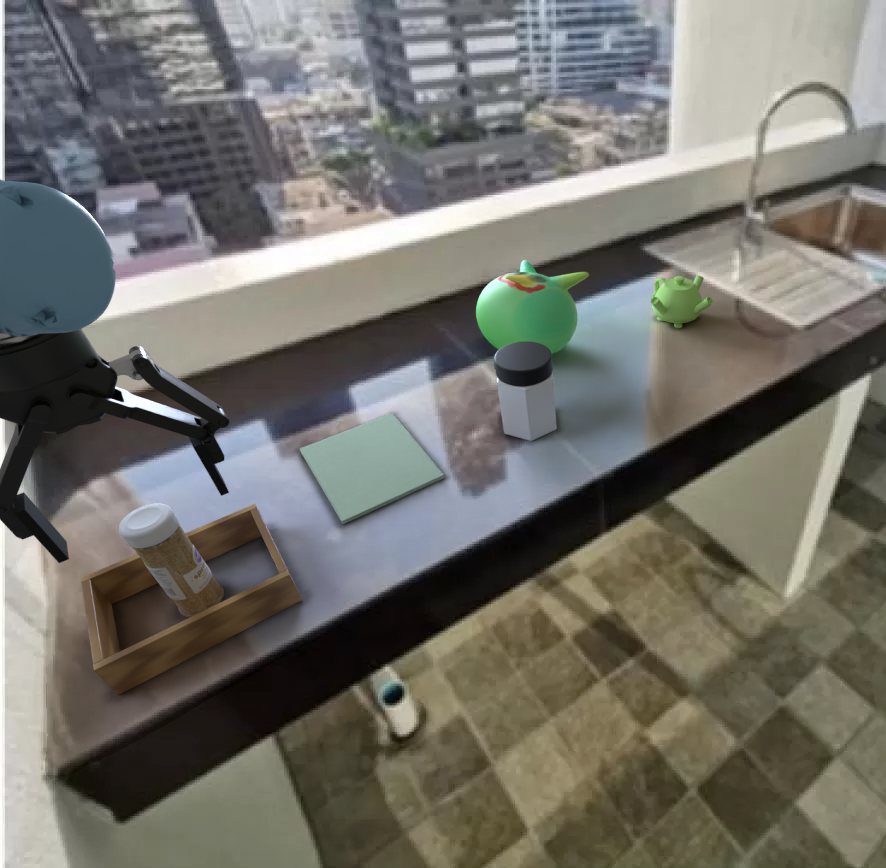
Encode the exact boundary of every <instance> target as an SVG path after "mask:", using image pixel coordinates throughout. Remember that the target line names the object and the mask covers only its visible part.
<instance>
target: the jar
mask: <svg viewBox="0 0 886 868" xmlns="http://www.w3.org/2000/svg"><path fill="white" fill-rule="evenodd" d="M493 361H494V362H493V367H494V370H495V376H496V386H497V393H498V399H499V407H500V408H499V409H500V414H501V421H502V422H501V423H502V428H503V433H504V434H505V435H506V436H510V437H514V438H519V439H522V440H526V441H528V442H529V441H530V442H532V441H534V440H538V439H539V438H541V437H543V436H545V435H548V434H549V433H552V432H554V431H556V430H557V428H558V426H557V413H556V399H555V398H556V397H555V385H554V373H553V371H554V365H553V362H554V361H553V354H552V353H551V351H550V349H549V348H548V347H546V346H545V345H543V344H540V343H536V342H529V341H523V342H515V343H511V344H508V345H506V346H504V347H502V348H501V349H497V351H496V352H495V354H494V356H493Z"/></svg>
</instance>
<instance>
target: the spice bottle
mask: <svg viewBox="0 0 886 868" xmlns="http://www.w3.org/2000/svg"><path fill="white" fill-rule="evenodd" d="M118 532H119V534H120V536H121V537H122V539H123V541H124V542H125V543H126V545H128V546H129V547H130V548H131V549H133V550H134V551H135V553H136V554H138V555H139V556H140V558H141V559H142V560H143V562H144V564H145V566H146V567H147V568H148V570H149V571H150V572H151V574H152V575H153V576H154V578H155V579H156V580H157V582H158V583H157V584H159V587H161V589H162V590H163V591H164V593H165V594H166V595H167V597H169V598H170V599H171V600H172V601H173V602H174V604H175V605H176V606H177V608H178V609H177V610H178V611H179V613H180V614H181V615H182V616H183V617H185V618H190V617H192V616H194V615H196V614H198V613H200V612H202V611H204V610H206V609H208V608H210V607H212V606H215V605H217V604H219V603H221V602H223V599H224V595H225V589H224V587H223V585H221V584H220V583H219V582H218V581H217V579H216V578H215V576H214V574H213V572H212V571H211V569H210V567H209V566H208V564H207V563H206V562H205V561H204V560H203V558H202V557H201V555H200V554H199V552H198V551H197V549H196V548H195V546H194V545H193V544H192V543H191V542H190V540H189V538H188V537H187V535H186V534H185V533H186V532H185V531H184V529H183V527H182V526H181V525H180V521H179V518H178V516H177V515H176V513H175V512H174V510H173V509H172V507H170V506H169V505H168V504H165V503H159V502H158V503H157V502H156V503H149V504H146V505H143V506H140V507H138V508H135V509H134V510H132V511H131V512H129V513H128V514H127V515H125V516H124V517H123V519H122V520H121V521H120V522H119V526H118Z"/></svg>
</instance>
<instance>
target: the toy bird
mask: <svg viewBox="0 0 886 868" xmlns="http://www.w3.org/2000/svg"><path fill="white" fill-rule="evenodd" d="M589 276H590V273H589V272H588V271H578V272H572V273H565V274H561V275H555V276H547V275H545V274H542V273H538V272H537V271H536V269H535V268H534V266H533V265H532V263H531V262H530V261H528V260H527V259H523V260H522V261H521V263H520V266H519V271H513V272H508V273H505V274H502V275H500V276H497V277H496V278H493V280H492V281H490V282H489V283H487V285H486V286H485V287H484V288H483V289H482V291H481V293H480V294H479V297H478V299H477V302H476V307H475V317H476V322H477V326H478V328H479V330H480V332H481V334H482V336H483V337H484V338H485V339H486V340H487V342H488V343H489V344H491V345H492V346H493V347H494V348H496V349H497V350H499V349H501V348H502V347H504V346H506V345H508V344H511V343H515V342H523V341H529V342H536V343H540V344H543V345H545V346H546V347H548V348H549V349H550V351H551V353H552V355H554V354H556V353H557V352H559V351H561V350H562V349H563V348H565V346H566V345H568V343H569V342H570V340H571V339H572V338H573V336H574V334H575V331H576V329H577V325H578V309H577V305H576V303H575V300H574V298H573V296H572V295H571V294H570V292H569V290H570V289H571V288H573V287H574V286H576V285H578V284H579V283H581V282H583V281H584V280H586V279H587V278H588V277H589Z"/></svg>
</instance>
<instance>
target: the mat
mask: <svg viewBox="0 0 886 868" xmlns="http://www.w3.org/2000/svg"><path fill="white" fill-rule="evenodd" d="M299 451H300V454H301V456H302V457H303V459H304V460H305V462H306V464H307V465H308V467H309V469H310V470H311V473H312V475H313V476H314V477H315V479H316V481H317V483H318V484H319V486H320V488H321V490H322V491H323V493H324V495H325V496H326V498H327V500H328V502H329V504H330V505H331V507H332V508H333V510H334V513H336V516H337V517H338V518H339V520H340V522H341V524H342V525H345V524H347V523H349V522H352V521H354V520H356V519H358V518H361V517H363V516H365V515H367V514H369V513H371V512H373V511H376V510H378V509H380V508H382V507H384V506H386V505H389V504H391V503H394V502H395V501H398V500H400V499H402V498H404V497H406V496H408V495H411V494H412V493H415V492H417V491H420V490H422V489H424V488H425V487H428V486H431V485H432V484H435V483H436V482H439V481H441V480H443V479H445V474H444V473H443V472H442V471H441V469H440V468H439V467H438V466H437V465H436V463H435V462H434V461H433V460H432V458H431V457H430V456H429V455H428V454H427V453H426V451H425V449H423V448H422V447H421V446H420V444H419V443H418V442H417V441H416V439H415V438H414V437H413V436H412V435H411V434H410V431H408V429H407V428H406V427H405V426H404V425H403V424H402V423H401V421H400V420H399V419H398V418H397V417H396V415H395V414H394V413H393V412H390V413H388V414H385V415H383V416H380V417H377V418H375V419H372V420H369V421H367V422H365V423H364V422H363V423H362V424H360V425H359V424H358V425H357V426H354V427H352V428H349V429H347V430H346V429H345V430H344V431H341V432H338V433H336V434H333V435H331V436H328V437H326V438H323V439H321V440H320V439H319V440H318V441H315V442H313V443H310V444H308V445H305V446H302V447H300V448H299Z"/></svg>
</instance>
